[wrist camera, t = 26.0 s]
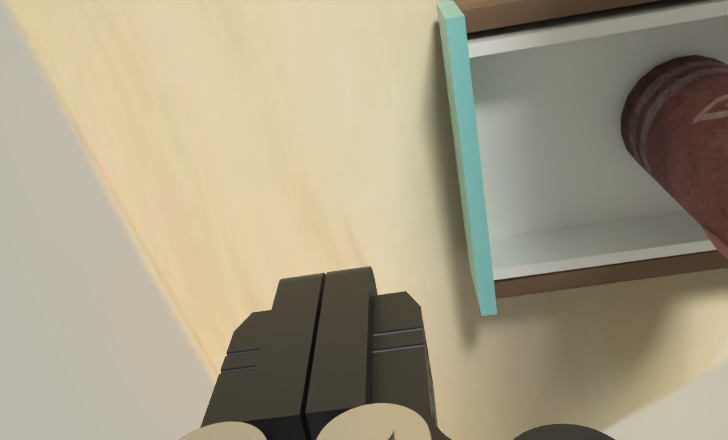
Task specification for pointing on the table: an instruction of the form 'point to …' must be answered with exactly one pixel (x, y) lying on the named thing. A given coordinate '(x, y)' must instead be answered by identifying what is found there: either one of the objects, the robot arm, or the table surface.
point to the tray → (565, 137)
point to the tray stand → (536, 3)
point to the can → (684, 137)
